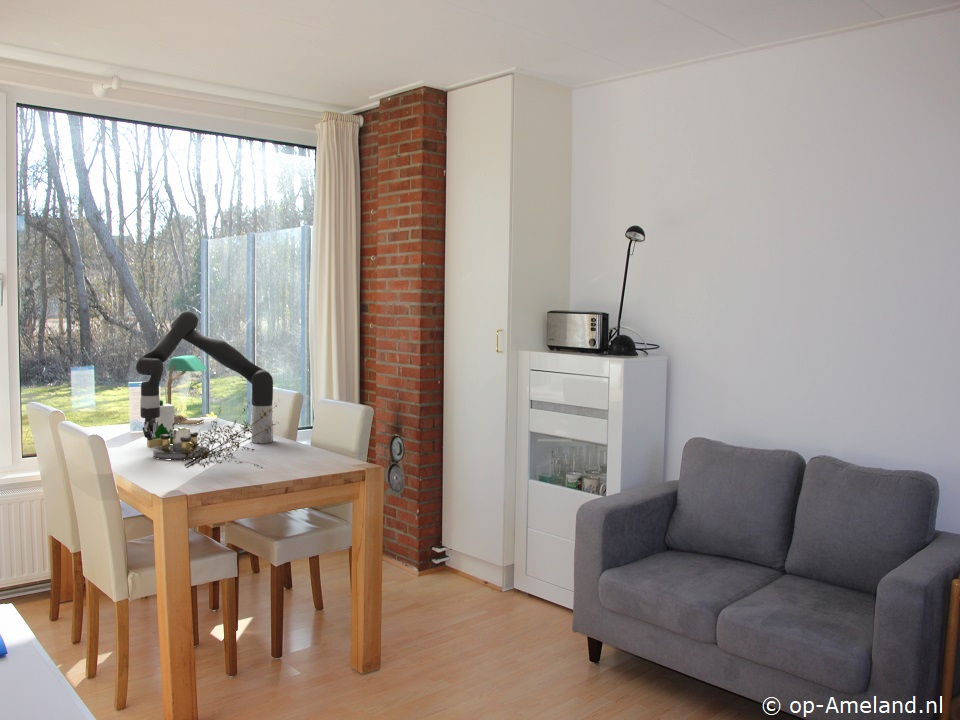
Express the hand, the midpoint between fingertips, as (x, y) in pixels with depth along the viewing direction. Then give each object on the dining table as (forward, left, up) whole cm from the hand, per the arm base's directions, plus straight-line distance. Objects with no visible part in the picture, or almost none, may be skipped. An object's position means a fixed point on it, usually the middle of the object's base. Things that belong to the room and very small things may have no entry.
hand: (150, 446), depth 335 cm
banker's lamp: (+9, -84, -4) cm, 85 cm away
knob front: (-4, 0, -1) cm, 4 cm away
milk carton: (+2, -24, -4) cm, 25 cm away
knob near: (-14, -9, -1) cm, 17 cm away
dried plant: (-39, +25, -4) cm, 47 cm away
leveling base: (-12, -1, -4) cm, 13 cm away
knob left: (-17, +7, -1) cm, 18 cm away
